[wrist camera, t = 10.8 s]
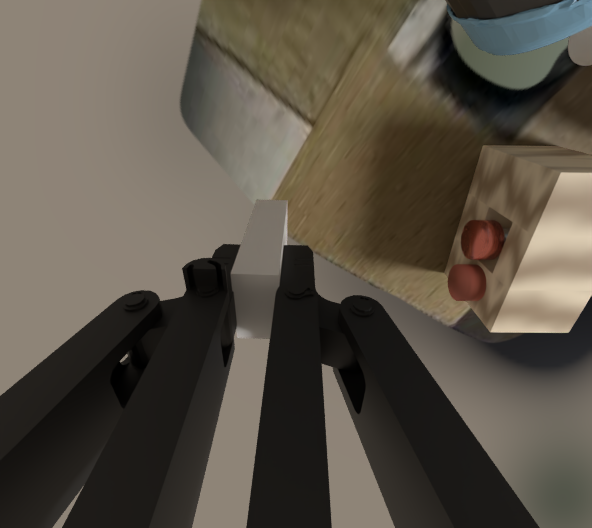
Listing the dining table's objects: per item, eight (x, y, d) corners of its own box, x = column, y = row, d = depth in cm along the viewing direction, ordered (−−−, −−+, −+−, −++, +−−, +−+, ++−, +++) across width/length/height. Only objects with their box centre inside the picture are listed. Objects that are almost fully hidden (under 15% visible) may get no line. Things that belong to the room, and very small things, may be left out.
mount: (464, 145, 41) (534, 172, 29) (557, 146, 41) (666, 173, 29) (429, 272, 51) (470, 332, 39) (504, 273, 52) (568, 332, 40)
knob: (457, 248, 43) (475, 266, 39) (467, 213, 40) (488, 229, 36) (547, 248, 43) (575, 267, 39) (563, 214, 40) (595, 230, 36)
